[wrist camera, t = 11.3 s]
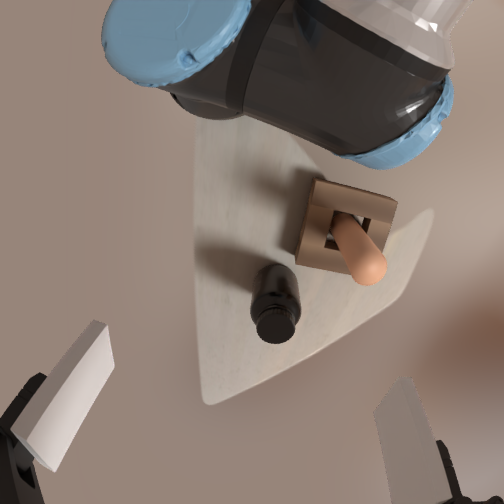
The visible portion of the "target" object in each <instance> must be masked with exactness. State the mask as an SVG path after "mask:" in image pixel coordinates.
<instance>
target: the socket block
mask: <svg viewBox="0 0 504 504" xmlns="http://www.w3.org/2000/svg"><path fill="white" fill-rule="evenodd" d="M397 204H398V202H397V201H395V200H394V199H392V198H390V197H387V196H384V195H380V194H377V193H373V192H369V191H366V190H362V189H358V188H355V187H351V186H347V185H343V184H339V183H335V182H331V181H327V180H323V179H318V178H314V177H313V181H312V186H311V190H310V195H309V199H308V203H307V208H306V212H305V216H304V220H303V224H302V228H301V233H300V237H299V241H298V245H297V249H296V253H295V263H296V264H297V265H302V266H307V267H312V268H317V269H322V270H328V271H333V272H338V273H343V274H348V275H351V273H350V271H349V269H348V267H347V264H346V262H345V260H344V258H343V256H342V254H341V252H340V250H339V248H338V245H337V243H332V242H328V241H326V238H327V235H328V231H329V227H330V224H331V220H332V216H333V212H334V210H337V211H341V212H345V213H350V214H354V215H358V216H362V217H364V220H363V223H362V227H361V228H362V229H363V230H364V231H365V233H366V234H367V235H368V236H369V238H370V239H371V240H372V241H373V243H374V244H375V245H376V246H377V248H378V249H379V250H380V252H381V253H382V252H383V249H384V246H385V243H386V240H387V237H388V234H389V230H390V228H391V224H392V221H393V218H394V214H395V211H396V208H397Z"/></svg>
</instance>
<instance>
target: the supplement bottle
mask: <svg viewBox="0 0 504 504" xmlns="http://www.w3.org/2000/svg"><path fill="white" fill-rule="evenodd" d="M250 314H251V318H252V320H253V322H254V324H255V325H256V329H257V333H258V335H259V337H260V338H261V339H262V340H264V341H265V342H268V343H271V344H280V343H283V342H286V341H287V340H289V339H290V338H291V337H292V336H293V334H294V333H295V325H296V324H297V323H298V321H299V319H300V317H301V303H300V296H299V289H298V282H297V278H296V276H295V274H294V273H293V272H292V271H291V270H290V269H289V268H287V267H285V266H282V265H269V266H267V267H264V268H263V269H261V270H260V271H259V272H258V274H257V275H256V277H255V280H254V285H253V293H252V300H251V308H250Z"/></svg>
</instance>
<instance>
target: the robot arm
mask: <svg viewBox="0 0 504 504" xmlns="http://www.w3.org/2000/svg"><path fill="white" fill-rule="evenodd" d="M472 1H473V0H113V1H112V3H111V5H110V7H109V9H108V11H107V13H106V15H105V18H104V22H103V26H102V34H101V37H102V38H101V40H102V46H103V47H104V51H105V57H106V59H107V61H108V62H109V64H110V65H111V66H112V68H113V69H115V70H116V71H117V72H118V73H119V74H121V75H123V76H125V77H127V79H129V80H131V81H133V83H135V84H138V85H140V86H146V87H156V88H159V89H162V90H165V91H168V92H170V94H171V96H172V97H173V99H174V100H175V101H176V102H177V103H178V104H179V105H180V106H181V107H182V108H183V109H185V110H186V111H188V112H189V113H191V114H193V115H196V116H199V117H202V118H206V119H212V120H228V119H234V118H237V117H241V116H243V115H247V116H249V117H252V118H255V119H257V120H260V121H262V122H265V123H267V124H270V125H272V126H275V127H277V128H280V129H282V130H284V131H287V132H289V133H292V134H294V135H296V136H298V137H301V138H303V139H305V140H307V141H310V142H312V143H314V144H316V145H318V146H320V147H322V148H325V149H327V150H329V151H331V152H332V153H333V154H334V155H336V156H339V157H341V158H345V159H350V160H353V161H355V162H357V163H360V164H362V165H364V166H366V167H369V168H372V169H377V170H386V169H391V168H395V167H398V166H401V165H403V164H405V163H407V162H408V161H410V160H412V159H413V158H415V157H416V156H417V155H419V154H420V153H421V152H422V151H423V150H424V149H426V148H427V147H428V145H430V143H431V142H432V141H433V140H434V139H435V138H436V136H437V135H438V133H439V132H440V130H441V129H442V126H441V124H440V123H441V121H442V120H443V119H444V118H447V117H448V116H449V114H450V111H451V108H452V104H453V94H454V89H453V85H452V81H451V79H450V77H449V76H448V72H449V71H450V70H451V69H452V67H453V66H454V65H455V59H454V54H453V49H452V45H451V41H450V32H451V30H452V29H453V27H454V26H455V25H456V23H457V22H458V20H459V19H460V18H461V16H462V15H463V14H464V12H465V11H466V10H467V8H468V7H469V5H470V4H471V2H472ZM114 367H115V365H114V360H113V354H112V349H111V344H110V338H109V332H108V325H107V324H105V323H102V322H99V321H96V320H93V321H92V322H91V323H90V324H89V325H88V327H87V328H86V329H85V330H84V331H83V333H82V334H81V335H80V336H79V337H78V339H77V340H76V341H75V342H74V344H73V345H72V346H71V347H70V348H69V350H68V351H67V352H66V354H65V355H64V356H63V357H62V359H61V360H60V361H59V362H58V364H57V365H56V366H55V367H54V369H53V370H52V372H51V373H50V374H49V375H48V376H46V375H44V374H42V373H38V374H36V375H35V376H33V377H31V378H30V379H29V380H28V382H27V383H26V384H25V385H24V387H23V389H21V391H20V392H19V393H18V396H16V397H15V399H14V400H13V401H12V403H11V404H10V406H9V407H8V408H7V409H6V411H5V412H4V414H3V415H2V417H1V418H0V504H45V503H44V500H43V497H42V494H41V490H40V487H39V484H38V480H37V476H36V472H35V468H34V465H33V463H32V461H33V460H34V458H35V459H36V460H37V461H38V462H39V463H40V464H41V465H43V466H45V467H46V468H48V469H50V470H51V471H53V472H56V470H57V468H58V466H59V464H60V463H61V460H62V459H63V457H64V455H65V453H66V451H67V449H68V447H69V445H70V444H71V442H72V440H73V438H74V436H75V434H76V433H77V431H78V429H79V427H80V425H81V424H82V422H83V420H84V418H85V416H86V415H87V413H88V411H89V409H90V408H91V406H92V404H93V402H94V401H95V399H96V397H97V396H98V394H99V392H100V390H101V389H102V387H103V385H104V384H105V382H106V380H107V379H108V377H109V375H110V374H111V372H112V371H113V369H114ZM373 413H374V417H375V422H376V426H377V430H378V435H379V439H380V444H381V448H382V453H383V458H384V463H385V468H386V473H387V479H388V484H389V490H390V496H391V502H392V504H504V502H503V499H502V498H501V497H499V496H493V497H491V498H490V499H489V500H487V501H481V502H472V500H471V499H470V498H468V497H465V496H463V495H462V494H461V491H460V487H459V484H458V480H457V477H456V474H455V470H454V467H452V466H453V464H452V461H451V460H450V455H449V452H448V449H447V447H446V446H445V445H444V443H443V442H442V441H441V440H438V441H435V438H434V435H433V432H432V429H431V427H430V424H429V421H428V418H427V415H426V413H425V410H424V408H423V405H422V402H421V400H420V397H419V395H418V392H417V390H416V387H415V385H414V382H413V380H412V378H411V377H398V378H397V380H396V381H395V383H394V384H393V386H392V387H391V389H390V390H389V391H388V393H387V394H386V396H385V397H384V399H383V400H382V401H381V403H380V404H379V405H378V407H377V408H376V409H375V411H374V412H373Z"/></svg>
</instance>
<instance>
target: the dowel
mask: <svg viewBox="0 0 504 504" xmlns="http://www.w3.org/2000/svg"><path fill="white" fill-rule="evenodd" d="M330 231H331V233H332V235H333V237H334V239H335V241H336V243H337V245H338V248H339V250H340V252H341V254H342V256H343V258H344V260H345V262H346V264H347V267H348V269H349V271H350V273H351V275H352V277H353V279H354V280H355V282H357V283H358V284H360V285H365V286H368V285H373V284H375V283H377V282H378V281H380V280H381V279H382V278H383V276H384V275H385V273H386V270H387V261H386V259H385V257H384V255H383V254H382V253H381V252H380V250H379V249H378V248H377V246H376V245H375V244H374V243H373V241H372V240H371V239H370V238H369V236H368V235H367V234H366V233H365V231H364V230H363V229H362V228H361V226H360V225H359V224H358V223H357V222H356V220H355V219H354V218H353V217H352V216H351V215H349V214H347V213H340V214H338V215H336V216H335V217H334V218H333V219H332V220H331V224H330Z"/></svg>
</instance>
